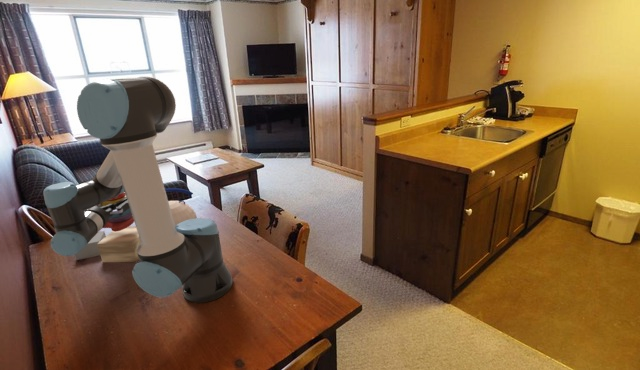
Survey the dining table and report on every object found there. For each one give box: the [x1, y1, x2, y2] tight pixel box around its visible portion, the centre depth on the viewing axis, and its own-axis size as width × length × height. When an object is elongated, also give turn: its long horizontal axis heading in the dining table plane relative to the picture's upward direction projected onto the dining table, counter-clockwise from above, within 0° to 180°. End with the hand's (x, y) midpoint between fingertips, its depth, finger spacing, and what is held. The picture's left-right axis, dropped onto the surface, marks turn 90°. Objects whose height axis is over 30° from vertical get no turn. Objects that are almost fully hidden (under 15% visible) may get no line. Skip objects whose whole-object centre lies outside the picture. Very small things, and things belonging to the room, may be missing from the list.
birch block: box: [97, 225, 141, 263], centre depth 130 cm, size 13×13×8 cm
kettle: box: [165, 187, 197, 227], centre depth 147 cm, size 20×21×18 cm
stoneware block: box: [74, 230, 107, 261], centre depth 132 cm, size 9×9×6 cm
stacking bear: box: [101, 191, 135, 232], centre depth 124 cm, size 11×10×18 cm
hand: (119, 194), depth 127 cm, fingers closed on stacking bear, 9 cm apart
